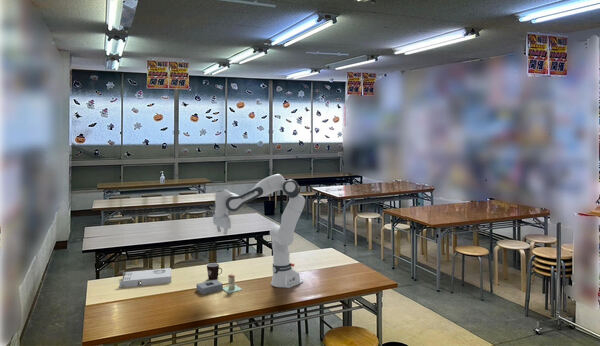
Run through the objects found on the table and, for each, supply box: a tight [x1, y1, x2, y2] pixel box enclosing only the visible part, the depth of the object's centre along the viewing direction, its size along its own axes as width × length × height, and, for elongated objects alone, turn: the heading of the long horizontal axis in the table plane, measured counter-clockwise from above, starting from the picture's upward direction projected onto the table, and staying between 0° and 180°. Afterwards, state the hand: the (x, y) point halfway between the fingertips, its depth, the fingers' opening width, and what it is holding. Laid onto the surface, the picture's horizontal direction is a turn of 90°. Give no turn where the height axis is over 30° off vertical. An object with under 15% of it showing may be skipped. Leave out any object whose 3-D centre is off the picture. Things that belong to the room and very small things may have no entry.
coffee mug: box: [206, 262, 223, 281], centre depth 290 cm, size 12×9×10 cm
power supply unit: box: [118, 267, 172, 288], centre depth 288 cm, size 19×33×5 cm, turn 107°
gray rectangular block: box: [195, 279, 224, 295], centre depth 270 cm, size 14×10×4 cm
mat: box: [222, 284, 243, 294], centre depth 271 cm, size 10×10×1 cm
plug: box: [227, 273, 236, 290], centre depth 270 cm, size 4×4×9 cm
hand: (222, 233), depth 282 cm, fingers open, 8 cm apart
